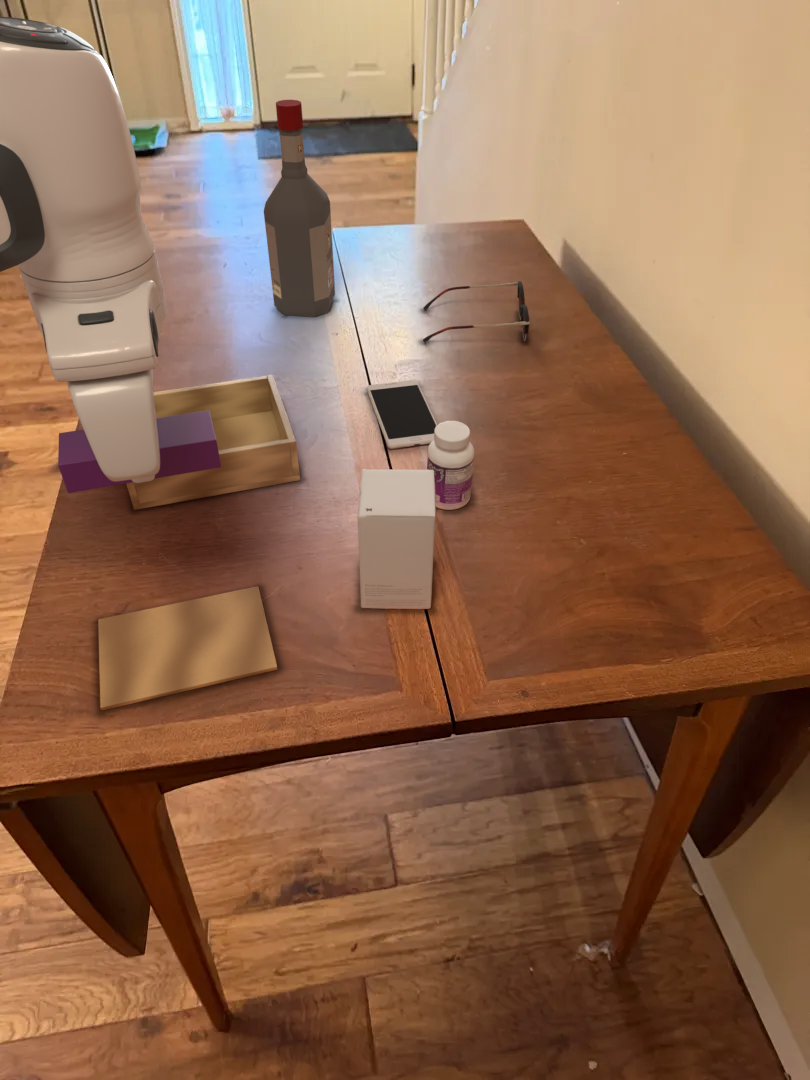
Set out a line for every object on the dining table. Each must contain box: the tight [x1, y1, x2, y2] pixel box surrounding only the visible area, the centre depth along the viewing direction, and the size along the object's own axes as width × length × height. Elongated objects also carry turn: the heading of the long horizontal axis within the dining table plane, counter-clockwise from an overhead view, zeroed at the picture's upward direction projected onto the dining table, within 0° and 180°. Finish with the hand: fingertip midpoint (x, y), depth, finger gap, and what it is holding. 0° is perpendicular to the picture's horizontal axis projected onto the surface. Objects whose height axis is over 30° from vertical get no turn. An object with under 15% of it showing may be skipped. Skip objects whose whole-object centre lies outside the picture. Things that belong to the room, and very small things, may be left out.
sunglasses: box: [422, 280, 531, 343], centre depth 122 cm, size 14×16×5 cm
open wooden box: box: [125, 374, 301, 511], centre depth 96 cm, size 20×16×6 cm
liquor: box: [263, 99, 336, 318], centre depth 119 cm, size 9×9×30 cm
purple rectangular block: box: [57, 410, 221, 494], centre depth 63 cm, size 12×4×3 cm, turn 107°
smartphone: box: [366, 379, 439, 450], centre depth 105 cm, size 8×1×15 cm
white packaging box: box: [357, 468, 437, 610], centre depth 77 cm, size 7×7×13 cm
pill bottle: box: [426, 420, 475, 511], centre depth 89 cm, size 5×5×10 cm
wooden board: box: [97, 585, 279, 711], centre depth 75 cm, size 16×11×1 cm
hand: (141, 455), depth 63 cm, fingers closed on purple rectangular block, 4 cm apart
